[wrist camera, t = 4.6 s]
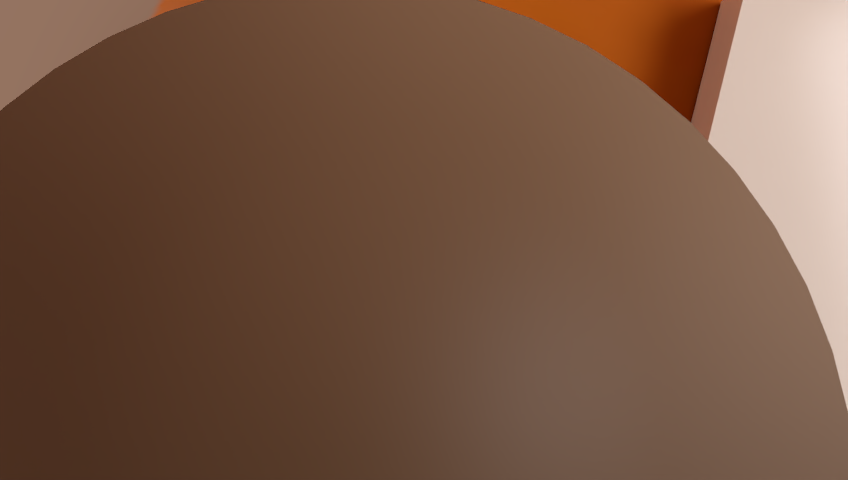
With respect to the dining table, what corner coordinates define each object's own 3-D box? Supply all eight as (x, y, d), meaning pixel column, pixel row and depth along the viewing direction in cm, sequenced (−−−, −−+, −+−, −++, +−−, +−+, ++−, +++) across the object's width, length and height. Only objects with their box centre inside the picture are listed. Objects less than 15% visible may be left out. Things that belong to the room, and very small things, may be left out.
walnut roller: (476, 444, 15) (722, 1267, 2) (304, 391, 15) (-371, 861, 2) (524, 271, 16) (950, 128, 3) (357, 222, 16) (29, -122, 3)
